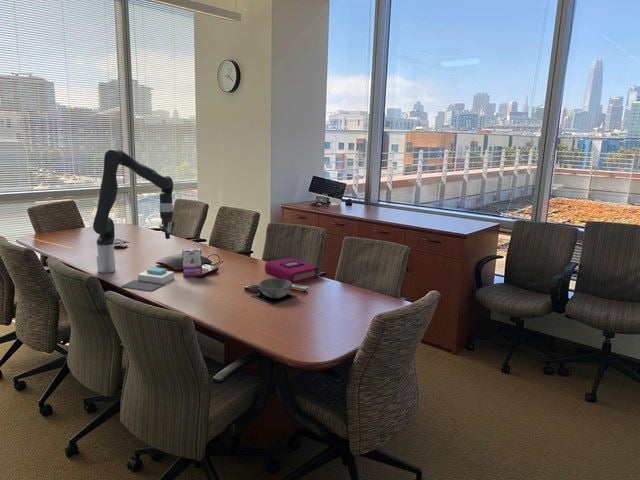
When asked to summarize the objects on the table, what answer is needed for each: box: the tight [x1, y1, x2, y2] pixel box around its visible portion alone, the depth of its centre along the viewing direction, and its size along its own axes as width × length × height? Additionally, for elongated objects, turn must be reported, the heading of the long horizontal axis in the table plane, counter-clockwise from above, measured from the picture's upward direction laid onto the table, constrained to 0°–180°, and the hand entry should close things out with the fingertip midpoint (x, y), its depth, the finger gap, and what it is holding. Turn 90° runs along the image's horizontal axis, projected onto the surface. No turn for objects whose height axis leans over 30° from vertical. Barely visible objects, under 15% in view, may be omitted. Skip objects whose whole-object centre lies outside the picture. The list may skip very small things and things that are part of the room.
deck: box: [137, 270, 175, 284], centre depth 279 cm, size 16×12×4 cm
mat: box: [120, 279, 166, 292], centre depth 268 cm, size 20×12×1 cm, turn 73°
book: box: [264, 257, 319, 284], centre depth 296 cm, size 21×28×8 cm
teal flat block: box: [146, 267, 168, 275], centre depth 279 cm, size 9×6×2 cm, turn 73°
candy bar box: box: [181, 247, 203, 278], centre depth 288 cm, size 11×5×16 cm, turn 105°
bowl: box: [258, 277, 293, 299], centre depth 258 cm, size 18×18×8 cm
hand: (167, 238), depth 287 cm, fingers closed
